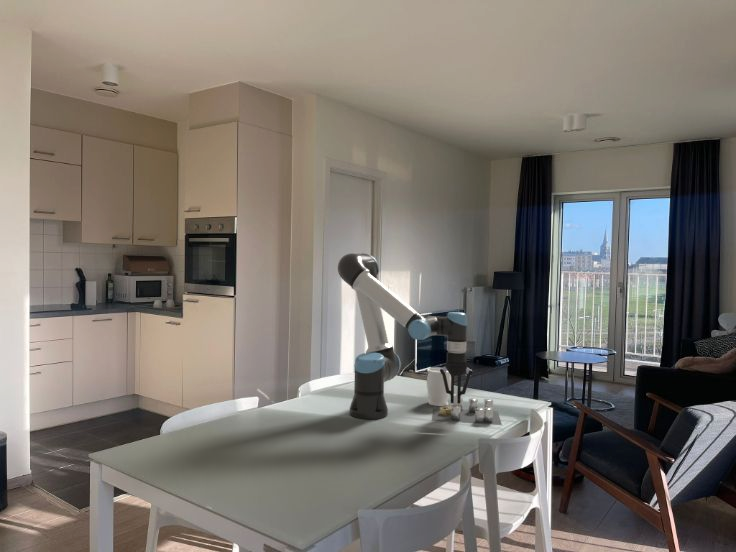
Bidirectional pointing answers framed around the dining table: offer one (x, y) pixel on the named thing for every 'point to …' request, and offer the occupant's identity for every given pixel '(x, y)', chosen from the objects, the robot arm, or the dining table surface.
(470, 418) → the mat
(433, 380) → the jar
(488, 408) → the spacers
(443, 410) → the nut
